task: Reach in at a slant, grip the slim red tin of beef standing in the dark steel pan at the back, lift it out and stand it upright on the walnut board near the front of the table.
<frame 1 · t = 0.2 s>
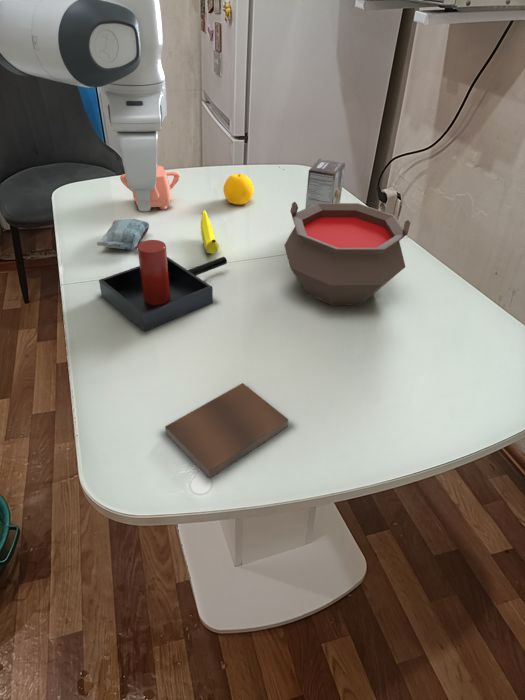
hand: (143, 197, 80), 22 cm above the table, tool pointing down, fingers open, 8 cm apart
walnut board: (227, 430, 72), on the table
coffee box: (319, 232, 124), on the table
apple: (238, 202, 137), on the table
teapot: (153, 205, 133), on the table
banana: (209, 248, 116), on the table
steel pan: (157, 299, 98), on the table
packaged food: (125, 244, 115), on the table
brown soup pot: (338, 287, 104), on the table
beef tin: (157, 298, 98), resting on steel pan
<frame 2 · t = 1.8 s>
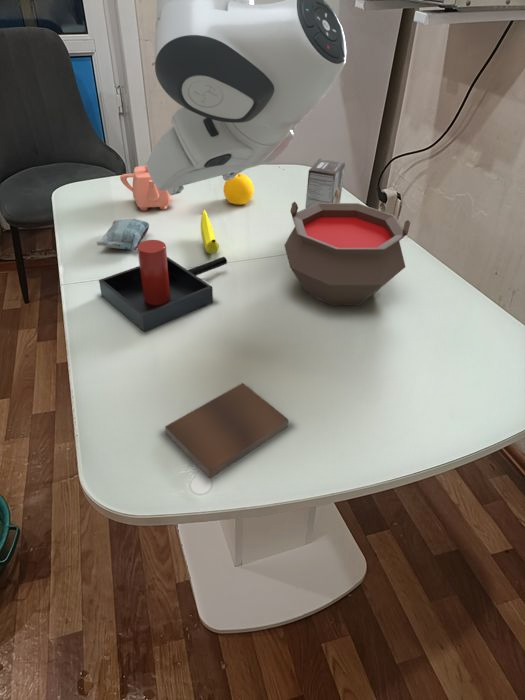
hand: (199, 182, 72), 27 cm above the table, tool tilted 45°, fingers open, 8 cm apart
nothing on the table moved.
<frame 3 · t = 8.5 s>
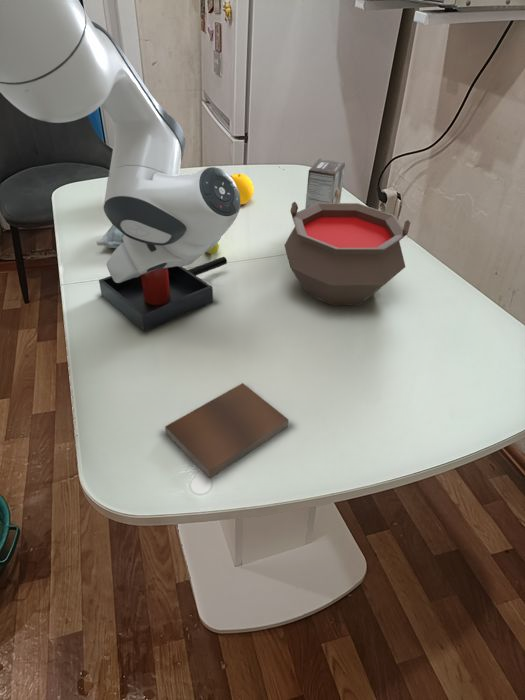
hand: (152, 267, 94), 7 cm above the table, tool tilted 45°, fingers closed on beef tin, 5 cm apart
beef tin: (157, 298, 98), resting on steel pan, touching gripper
everything else where it was.
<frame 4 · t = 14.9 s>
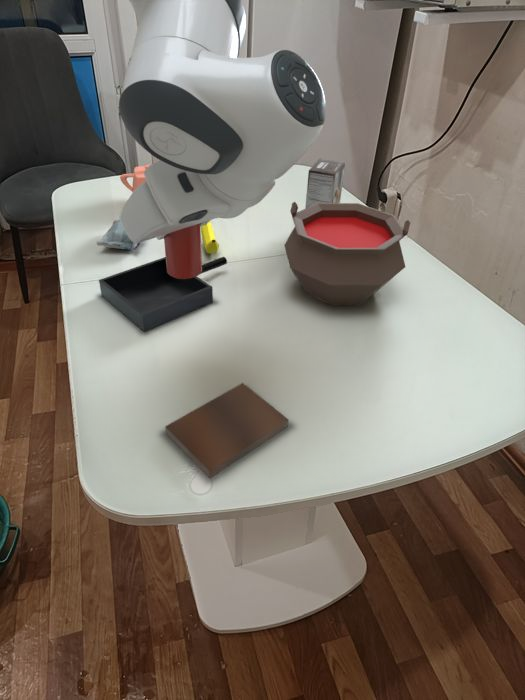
hand: (179, 227, 70), 23 cm above the table, tool tilted 45°, fingers closed on beef tin, 5 cm apart
beef tin: (184, 270, 73), point 17 cm above the table, touching gripper
everything else where it was.
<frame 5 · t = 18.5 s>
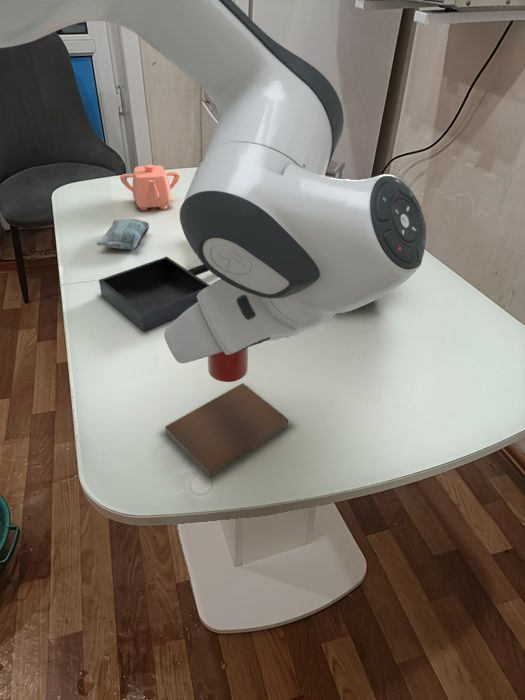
hand: (224, 326, 61), 18 cm above the table, tool tilted 45°, fingers closed on beef tin, 5 cm apart
beef tin: (227, 369, 65), point 11 cm above the table, touching gripper
everything else where it was.
when the fingers open (8 cm above the table, at t = 21.5 s): beef tin stays where it is, resting on walnut board.
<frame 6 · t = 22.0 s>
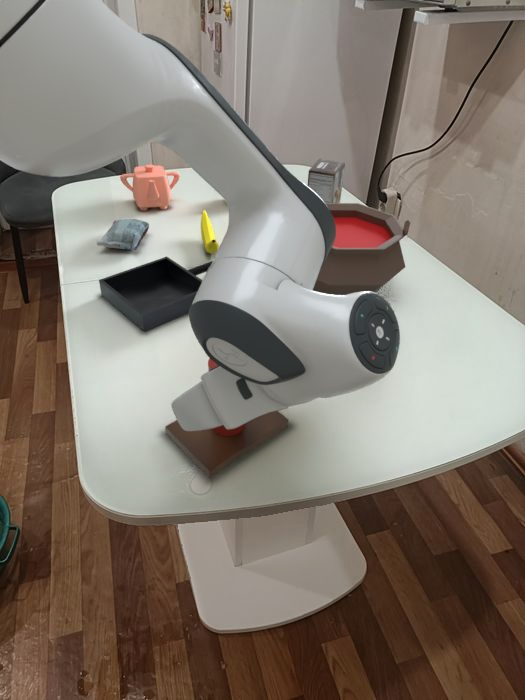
hand: (224, 387, 68), 8 cm above the table, tool tilted 45°, fingers open, 8 cm apart
beef tin: (228, 422, 71), point 1 cm above the table, touching walnut board
everything else where it was.
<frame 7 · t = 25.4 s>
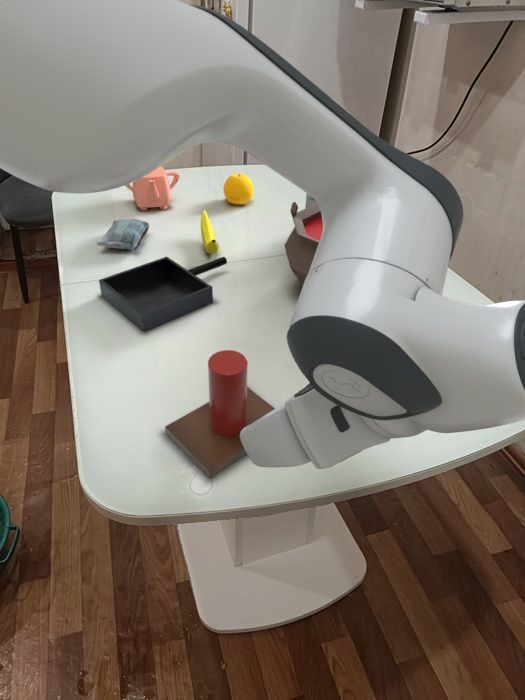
hand: (289, 408, 57), 13 cm above the table, tool tilted 45°, fingers open, 8 cm apart
nothing on the table moved.
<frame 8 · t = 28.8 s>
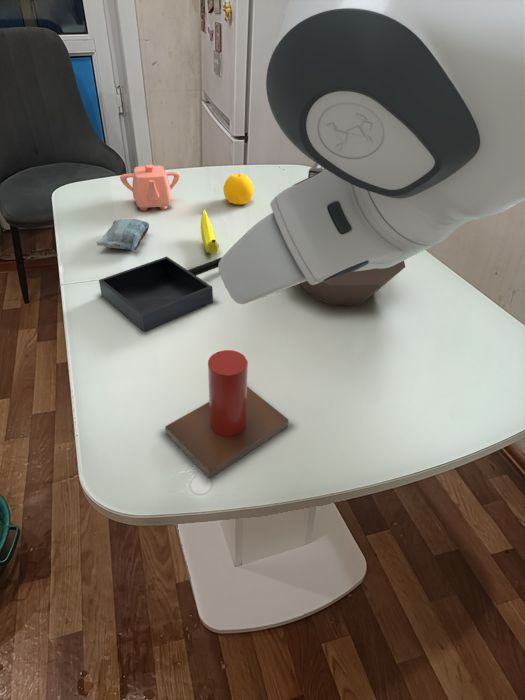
hand: (281, 270, 49), 29 cm above the table, tool tilted 45°, fingers open, 8 cm apart
nothing on the table moved.
at the end: beef tin inside the target area on the walnut board (0.1 cm from its centre), point 1.5 cm above the walnut board's base; beef tin tilted 0°; the gripper is holding nothing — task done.
